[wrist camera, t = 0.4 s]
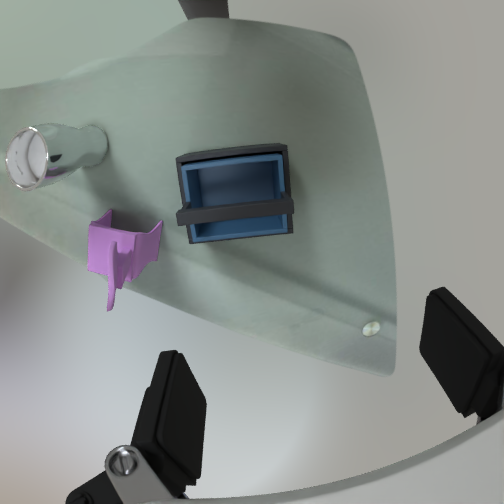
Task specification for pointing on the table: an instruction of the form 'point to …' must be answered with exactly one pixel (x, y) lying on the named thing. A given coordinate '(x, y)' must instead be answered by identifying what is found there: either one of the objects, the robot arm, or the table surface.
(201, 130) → the table surface
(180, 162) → the charcoal bin
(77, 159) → the beer glass
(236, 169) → the blue bin
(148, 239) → the toy chair
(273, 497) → the robot arm
